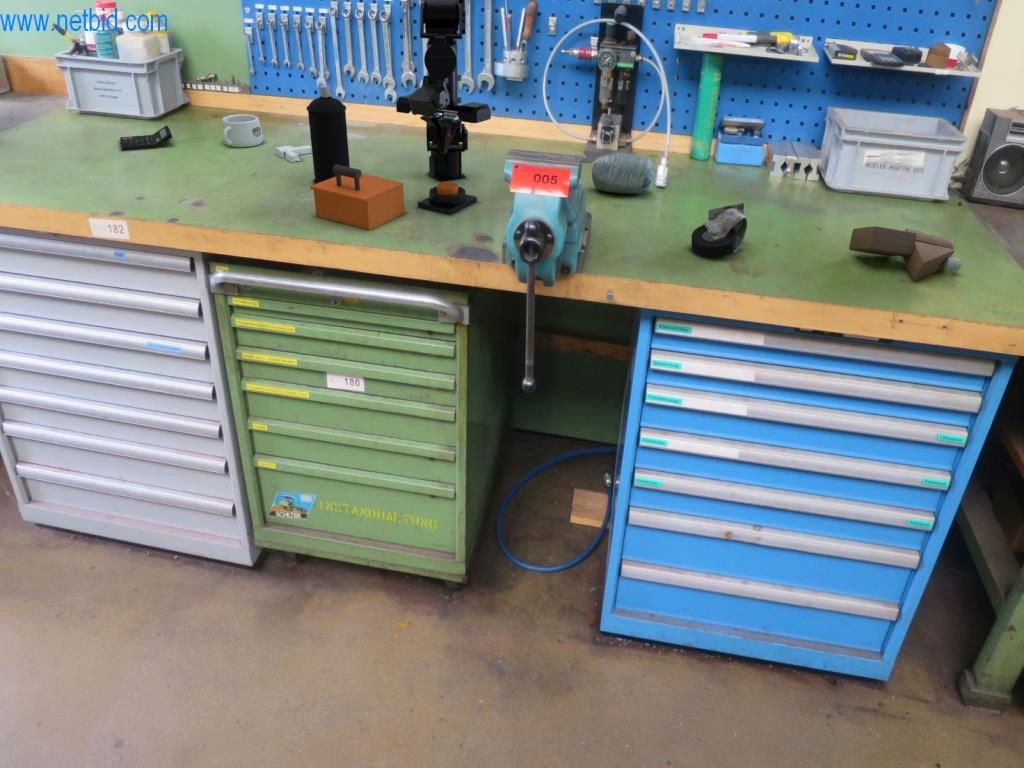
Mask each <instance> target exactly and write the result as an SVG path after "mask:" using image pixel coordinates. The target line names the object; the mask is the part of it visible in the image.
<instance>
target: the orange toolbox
mask: <svg viewBox="0 0 1024 768" xmlns="http://www.w3.org/2000/svg"><path fill="white" fill-rule="evenodd" d="M404 195H405V193H404V185H403V186H401V187H399V188H396V189H394V190H392V191H389V192H387V193H385V194H382V195H380V196H378V197H375V198H373V199H371V200H368V201H366V202H362V201H358V200H354V199H350V198H345V197H341V196H337V195H333V194H329V193H325V192H321V191H317V190H313V198H314V207H315V208H314V209H315V216H316V217H318V218H321V219H327V220H329V221H334V222H338V223H341V224H345V225H348V226H353V227H356V228H361V229H364V230H368V231H371V230H372V229H374V228H376V227H377V226H380V225H382V224H384V223H386V222H389V221H390V220H393V219H395V218H396V217H399V216H401V215H403V214H405V197H404Z"/></svg>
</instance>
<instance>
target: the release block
mask: <svg viewBox="0 0 1024 768" xmlns="http://www.w3.org/2000/svg"><path fill="white" fill-rule="evenodd" d="M477 201H478V197H477V196H476V195H472V194H467V193H466V189H465V188H464V187H462V186H458V193H457V194H454V195H442V194H438V193H437V185H436V186H433V187H431V188H430V189H429V191H428V197H426V198H424V199H422V200H420V201H417V208H418V209H421V210H425V211H430V212H434V213H438V214H443V215H447V216H452V215H454V214H457V213H458V212H460V211H462V210H464V209H466V208H468V207H470V206H472V205H474V204H476V203H477Z"/></svg>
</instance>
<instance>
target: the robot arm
mask: <svg viewBox="0 0 1024 768" xmlns="http://www.w3.org/2000/svg"><path fill="white" fill-rule="evenodd" d="M419 7H420V11H419V12H420V15H419V18H420V19H419V38H420V39H428V41H427V43H426V51H425V53H424V58H423V61H424V66H425V69H426V70H427V71H426V72H427V73H426V74H425V75H423V77H422V85H421V86H420V87H419V88H417V89H415V91H413V92H412V93H410V94H406V95H402V96H401V95H400V96H398V98H397V100H396V102H395V111H396V113H401V114H410V113H411V114H412V115H413V116H417V115H418V116H420V118H419V119H420V120H421V121H424V122H425V123H426V124H425V125H426V126H425V136H426V137H425V138H426V152H430V155H429V157H428V170H429V171H427V175H428V176H430V177H432V178H433V179H435V180H437V181H439V182H449V181H455V180H459V179H465V178H466V175H465V174H463V170H462V169H463V168H462V167H463V161H462V160H463V159H462V156H463V155H462V153H465V151H468V150H469V130H468V129H467V128H466V126H465V125H466V124H465V123H468V124H479V123H482V122H485V121H489V120H491V119H492V110H491V108H490V106H489V104H488V103H483V102H475V101H472V102H467V103H464V104H462V97H461V96H460V97H459V96H458V93H459V92H458V82H461V81H462V74H458V43H457V40H463V35H466V16H467V15H466V0H423V2H420V6H419ZM458 31H459V32H458ZM462 122H463V123H462Z"/></svg>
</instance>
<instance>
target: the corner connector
mask: <svg viewBox="0 0 1024 768" xmlns="http://www.w3.org/2000/svg"><path fill="white" fill-rule="evenodd" d="M275 154H276V155H277V156H278V157H279V158H281V159H286V160H287V161H289V162H290V163H295V162H300V161H301V159H300V158H299V156H300V155H305V154H312V146H311V145H302V146H294V147H293V145H283V146H282V145H281V146H276V147H275Z"/></svg>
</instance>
